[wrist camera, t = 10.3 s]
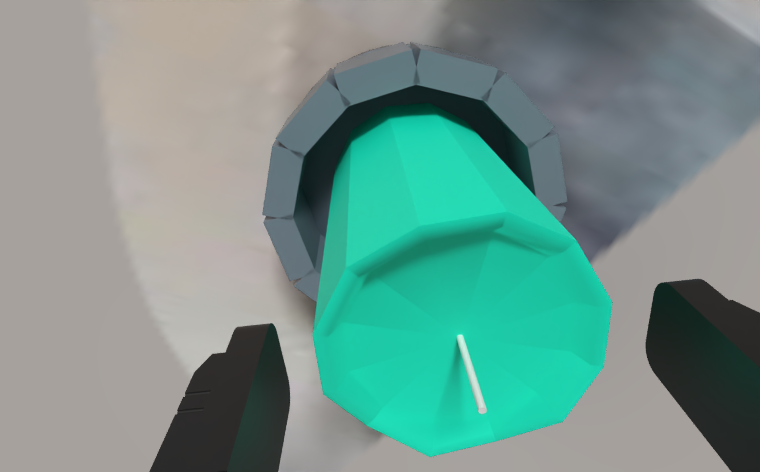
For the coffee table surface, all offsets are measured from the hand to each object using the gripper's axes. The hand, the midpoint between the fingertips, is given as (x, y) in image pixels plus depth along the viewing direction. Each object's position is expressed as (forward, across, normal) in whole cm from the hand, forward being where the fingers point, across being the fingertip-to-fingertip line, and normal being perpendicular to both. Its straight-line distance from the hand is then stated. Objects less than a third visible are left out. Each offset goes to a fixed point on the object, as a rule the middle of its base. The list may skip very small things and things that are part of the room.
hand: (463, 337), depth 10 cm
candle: (+10, 0, 0) cm, 10 cm away
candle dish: (+11, 0, 0) cm, 11 cm away
